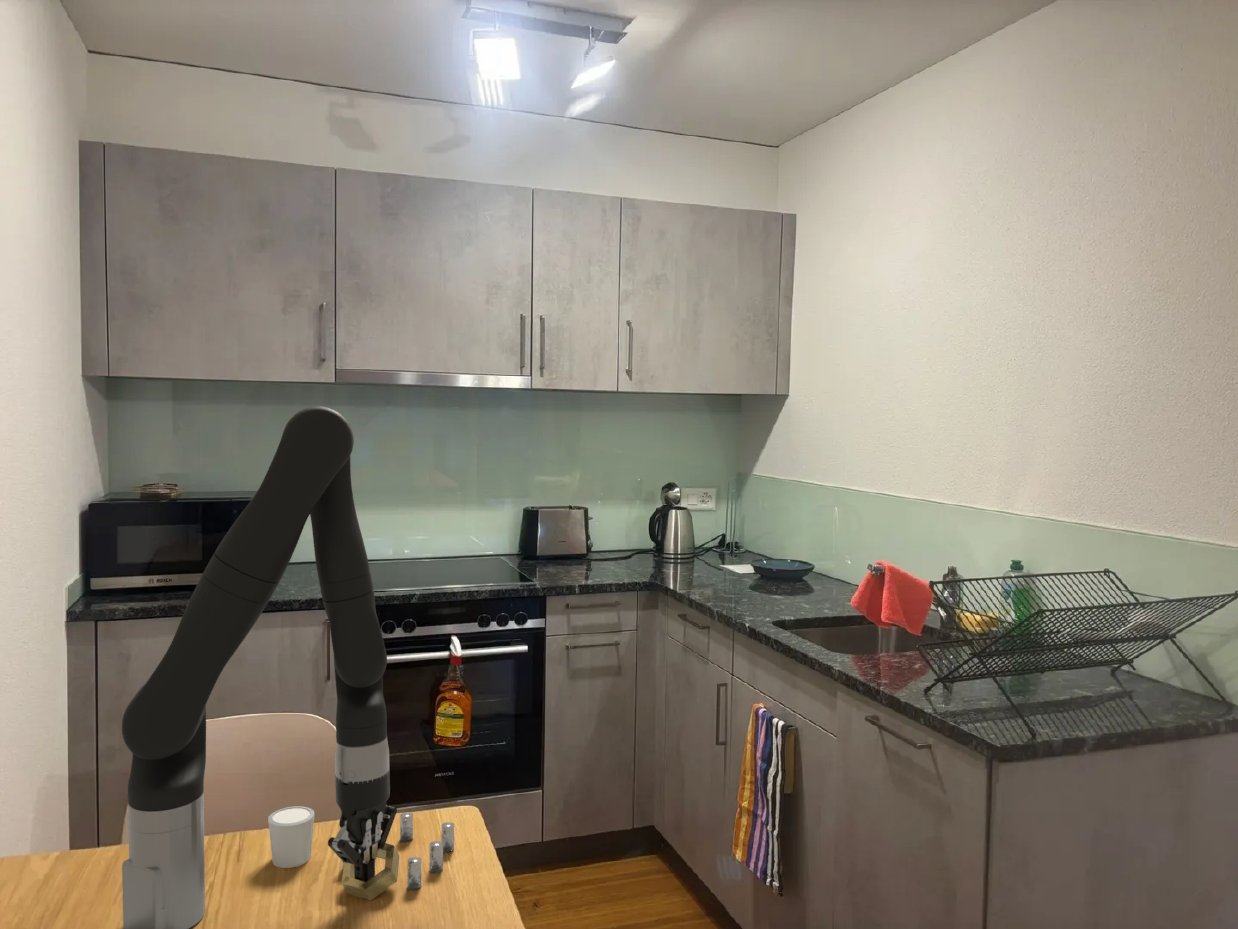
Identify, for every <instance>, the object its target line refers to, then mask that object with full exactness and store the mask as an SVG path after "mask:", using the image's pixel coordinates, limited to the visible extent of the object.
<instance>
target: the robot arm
mask: <svg viewBox="0 0 1238 929" xmlns="http://www.w3.org/2000/svg"><path fill="white" fill-rule="evenodd" d="M354 441H355V440H354V432H353V430H352V427H351V426H350V423H349V421H348V420H347V419H346V418H345V417H344V416H343V414H341V413H340V412H338V411H336V410H335V409H333V408H329V407H328V406H321V405H319V406H317V405H316V406H310V407H306V408H303V409H301V410H300V411H298V412H296V413H295V414H294V415H293V416H292V417H291V418H289V420H288V422H287V423H286V425H285V427H284V430H283V432H282V435H281V438H280V441H279V442H278V443H279V444H278V446H277V449H276V451H275V454H274V456H273V458H272V461H271V462H270V465H269V466H268V469H267V471H266V474H265V476H264V478H263V479H262V482H261V484H260V485H259V488H258V489H257V491H256V492H255V494H254V496H253V497H252V499H251V500H250V501H249V503H248V504H247V505H246V506H245V508H244V509H243V510H242V511H241V513H239V514H240V515H239V516H238V517H237V518H236V520H235V521H234V522H233V523H232V525H231V526H230V528H229V529H228V531H227V533H226V534H225V535H224V537H223V538H222V540H221V541H220V543H219V544H218V546H217V548H216V549H215V552H214V553H213V555H212V556H211V558H210V560H209V562H208V563H207V565H206V567H205V569H204V570H203V572H202V574H201V577H200V578H199V581H198V582H197V584H196V586H195V588H194V591H193V592H192V594H191V597H190V599H189V601H188V603H187V605H186V608H185V609H184V612H183V614H182V617H181V619H180V620H179V624H178V627H177V628H176V631H175V634H174V636H173V638H172V639H171V642H170V645H169V646H168V649H167V650H166V652H165V654H164V655H163V657H162V659H161V660H160V662H159V663H158V664H157V666H156V668H155V669H154V671H153V672H152V673H151V675H150V676H149V678H148V679H147V681H146V683H144V684H143V685H142V686H141V687H140V688H139V690H138V691H137V693H135V695H134V697H133V698H132V699H131V701H130V702H129V703H128V705H127V706H126V708H125V710H124V713H123V716H122V720H121V734H122V739H123V742H124V743H125V746H126V748H128V750H129V751H130V752H131V753H132V760H131V765H130V766H131V767H130V774H129V778H128V783H127V813H128V814H127V815H128V816H127V818H128V819H127V820H128V824H127V826H128V827H127V828H128V830H127V831H128V858H127V859H126V860H123V862H122V865H121V872H122V875H121V876H122V878H121V880H122V884H121V885H122V929H191V928H192V927H194V926H195V925H196V924H198V923H199V922H201V920H202V919H203V918H204V917H205V913H206V884H205V882H206V881H205V878H206V876H205V875H206V874H205V873H206V872H205V871H206V870H205V868H206V866H205V794H204V792H205V791H204V784H205V783H204V781H205V770H206V763H207V706H206V705H207V703H208V701H209V698H210V696H211V694H212V692H213V690H214V687H215V685H216V683H217V682H218V679H219V677H220V675H221V674H222V672H223V670H224V668H225V667H226V665H227V664H228V663H229V661H230V660H231V658H232V657H233V655H234V654H235V653H236V651H237V650H238V649H239V647H240V646H241V644H243V642H244V640H245V639H246V637H247V636H248V635H249V633H250V631H251V630H252V628H253V627H254V626H255V624H256V622H257V621H258V619H259V618H260V617H261V615H262V613H263V611H264V610H265V609H266V607H267V605H268V603H269V601H270V600H271V598H272V596H273V595H274V592H275V591H276V589H277V587H278V586H279V583H280V581H281V580H282V579H283V578H282V577H283V576H284V574H285V572H286V570H287V568H288V565H289V563H290V561H291V559H292V557H293V555H294V552H295V550H296V547H297V546H298V543H299V540H300V538H301V535H302V532H303V530H304V529H305V528H304V527H305V524H306V523H307V521H308V518H309V516H310V522H311V531H312V540H313V542H312V543H313V548H314V550H313V551H314V558H315V566H316V573H317V578H318V583H319V588H320V593H321V599H322V603H323V607H324V610H325V614H326V617H327V619H328V623H329V629H330V630H329V632H330V637H331V645H332V652H333V663H334V665H333V666H334V678H335V679H334V680H335V688H336V689H335V690H336V711H335V712H336V713H335V736H336V738H335V739H336V743H335V754H334V768H335V769H334V772H335V774H334V775H335V776H334V777H335V780H334V781H335V782H334V783H335V803H336V805H337V806H338V808H339V809H340V811H341V813H340V814H341V815H340V819H339V824H338V825H339V827H340V829H339V830H338V832H337V834H336V836H335V837H334V836H333V837H330V838H328V841H327V846H328V847H329V849H331V850H332V851H333V853H334V854H336V856H337V857H338V858H339V859H340V860H341V861H342V863H343V862H345V863H350V864H354V874H355V875H354V876H355V879H357V880H360V881H364V882H367V881H368V880H370V879H371V878H372V877H374V876H375V875H376V871H375V870H376V860H375V859H376V858H377V857H376V856H377V851H378V850H379V848H380V849H382V848H383V847H384V846H385V843H387V840H388V837H389V834H390V832H391V829H392V825H393V823H394V820H395V818H396V814H397V812H398V809H397V807H395V806H390V805H387V801H388V800H389V799H390V796H391V792H390V791H391V784H390V778H391V777H390V748H389V744H388V742H389V741H388V731H387V730H388V724H387V723H388V722H387V718H388V717H387V706H386V701H385V697H384V687H383V686H384V685H383V684H384V673H385V671H386V668H387V663H388V655H387V650H386V646H385V641H384V638H383V634H382V630H381V627H380V626H381V625H380V621H379V618H378V615H377V610H376V599H375V591H374V584H373V580H372V574H371V569H370V564H369V559H368V554H367V550H366V547H365V542H364V539H363V535H362V530H361V528H360V527H361V526H360V523H359V519H358V516H357V515H358V514H357V510H356V506H355V500H354V494H353V487H352V486H353V485H352V475H351V474H352V471H351V454H352V453H353V448H354Z"/></svg>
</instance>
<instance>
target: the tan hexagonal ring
mask: <svg viewBox="0 0 1238 929" xmlns="http://www.w3.org/2000/svg"><path fill="white" fill-rule="evenodd" d="M396 848H397V847H396V846H395V844H391V843H387V842H386V843H385V846H384V847H383V848H382V849H380V848H379V850H378V851H377V856H376V858H378V859H381V860H385V861H384V862H385V863H384V869H382V870H380V872H378V873H376V874H375V876H374V877H372V878H371V879H370V880H368V881H367V882H364V881H360V880H357V879H355V876H354V875H355V874H354V864H350V863H345V862H344V869H343V868H342V876H341V886H342V887H343V889H344V890H345V892H346V894H347V895H351V896H354V897H358V898H361V899H363V900H366V901H367V900H368V901H372V900H374V899H375V898H376V897H378V896H379V895H380V894H381V893H382V894H383V892H385V891H386V890H387V889H389V888H390V887H391V886H393V885H394V884H396V883H397V882H398V876H399V874H398V873H399V866H400V865H399V864H400V854H399V852H398V850H397V849H396Z"/></svg>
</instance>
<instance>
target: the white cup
mask: <svg viewBox="0 0 1238 929" xmlns="http://www.w3.org/2000/svg"><path fill="white" fill-rule="evenodd" d="M315 817H316V816H315V811H314V809H312V808H311V807H307V806H299V805H298V806H297V805H296V806H288V807H283V808H281V809H277V810H275V811H274V812H272V813H270V815H268V817H267V819H268V820H267V821H268V831H269V841H270V850H271V857H272V858H271V859H272V864H273V865H274V866H275V867H277V868H281V869H289V868H297V867H300V866H302V865H304V864H307V862H309V860H310V859H311V857H312V847H313V846H312V845H313V834H314V824H315Z"/></svg>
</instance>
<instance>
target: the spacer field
mask: <svg viewBox="0 0 1238 929" xmlns="http://www.w3.org/2000/svg"><path fill="white" fill-rule="evenodd" d="M399 816H400V817H399V818H400V820H399V823H400V824H399V827H400V829H399V831H400V834H399V837H400V838H399V840H400V842H403V843H406V842H407V843H408V842H411V841H412V840H413V839H414V835H413V834H414V826H413V825H414V814H413V813H412V812H409V811H406V812H402V813H401V814H400V815H399ZM440 828H441V829H440V830H441V832H440V834H441V835H440V836H441V840H433V841H431V842H430V843H429V872H430V871H431V873H433V872H437V873H440V872H442V871H443V869H444V868H443V867H444V853H450V852H449V851H451V850H453V849H454V850H455V823H454V822H451V821H447V822H443V823H442V824H441V827H440ZM454 850H453V851H454ZM443 851H444V852H443ZM451 852H452V851H451ZM343 869H344V862H343V861H342V870H343ZM439 871H440V872H439ZM406 873H407V878H406V880H407V882H406V883H407V889H408V890H411V891H416V890H419V889H421V887H422V858H421V857H419V856H411V857H410V858H408V859H407V871H406Z"/></svg>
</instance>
